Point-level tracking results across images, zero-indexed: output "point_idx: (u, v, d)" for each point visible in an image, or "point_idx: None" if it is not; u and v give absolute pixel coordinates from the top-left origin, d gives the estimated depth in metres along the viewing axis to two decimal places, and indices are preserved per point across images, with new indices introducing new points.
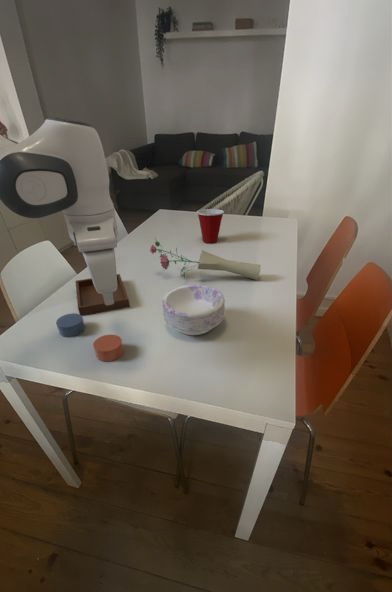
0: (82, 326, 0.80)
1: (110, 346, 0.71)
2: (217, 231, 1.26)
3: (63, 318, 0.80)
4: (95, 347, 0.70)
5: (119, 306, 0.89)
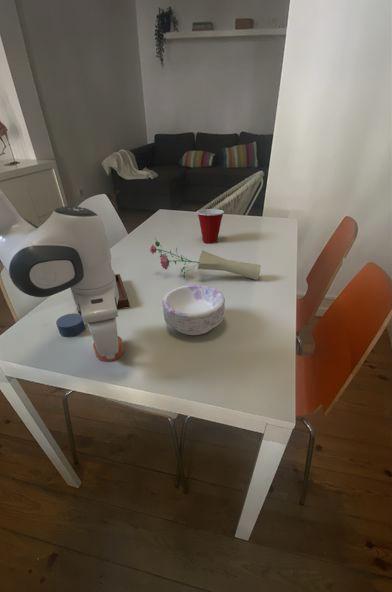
0: (82, 326, 0.80)
1: None
2: (217, 231, 1.26)
3: (63, 318, 0.80)
4: (95, 347, 0.70)
5: (119, 306, 0.89)
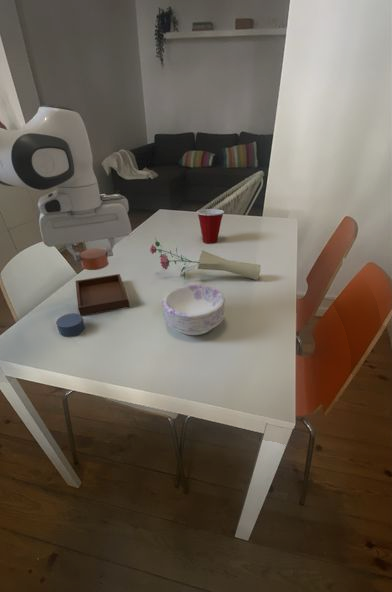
0: (82, 326, 0.80)
1: (86, 255, 0.77)
2: (217, 231, 1.26)
3: (63, 318, 0.80)
4: (88, 250, 0.80)
5: (119, 306, 0.89)
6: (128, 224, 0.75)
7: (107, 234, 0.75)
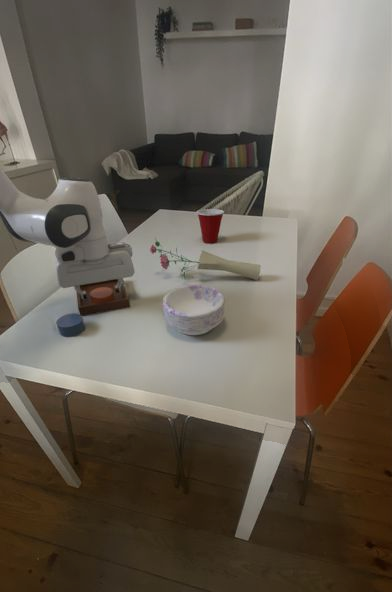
0: (82, 326, 0.80)
1: (95, 294, 0.89)
2: (217, 231, 1.26)
3: (63, 318, 0.80)
4: (97, 288, 0.91)
5: (119, 306, 0.89)
6: (132, 267, 0.87)
7: (113, 276, 0.86)
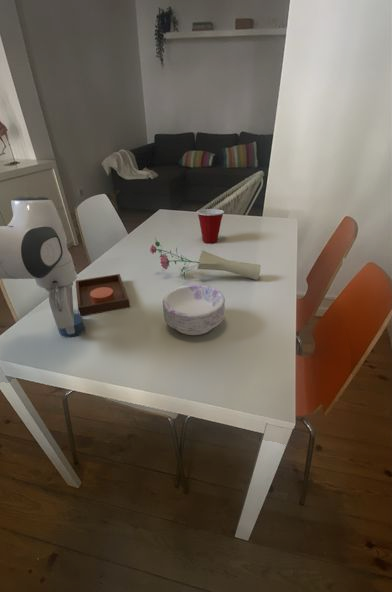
0: (82, 326, 0.80)
1: (95, 294, 0.89)
2: (217, 231, 1.26)
3: None
4: (97, 288, 0.91)
5: (119, 306, 0.89)
6: None
7: None
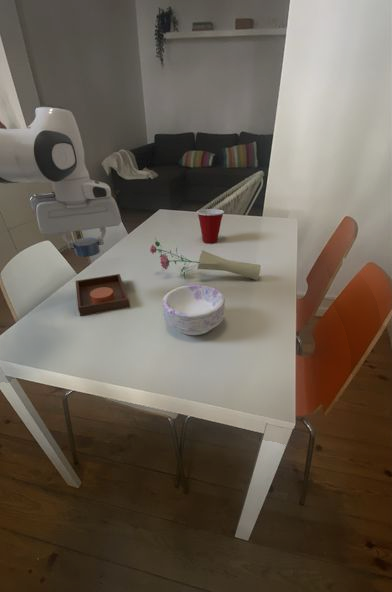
0: (81, 251, 0.83)
1: (95, 294, 0.89)
2: (217, 231, 1.26)
3: (90, 239, 0.86)
4: (97, 288, 0.91)
5: (119, 306, 0.89)
6: None
7: None
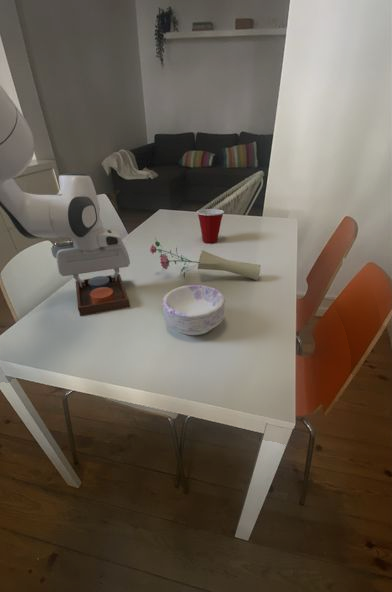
0: None
1: (95, 294, 0.89)
2: (217, 231, 1.26)
3: (102, 277, 0.97)
4: (97, 288, 0.91)
5: (119, 306, 0.89)
6: None
7: None
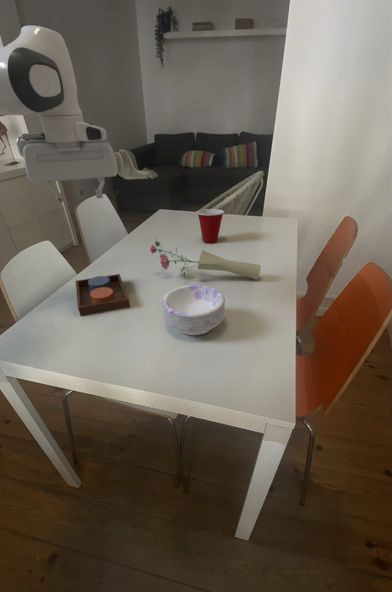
0: None
1: (95, 294, 0.89)
2: (217, 231, 1.26)
3: (102, 277, 0.97)
4: (97, 288, 0.91)
5: (119, 306, 0.89)
6: None
7: None
